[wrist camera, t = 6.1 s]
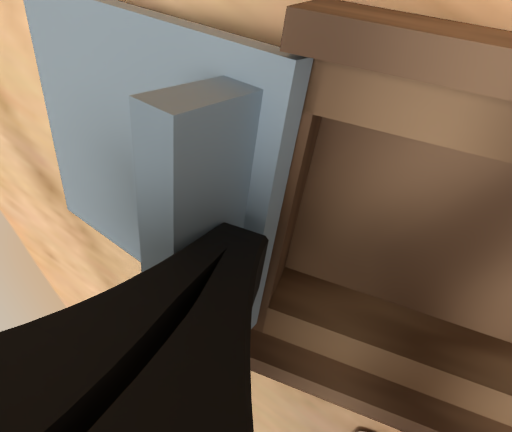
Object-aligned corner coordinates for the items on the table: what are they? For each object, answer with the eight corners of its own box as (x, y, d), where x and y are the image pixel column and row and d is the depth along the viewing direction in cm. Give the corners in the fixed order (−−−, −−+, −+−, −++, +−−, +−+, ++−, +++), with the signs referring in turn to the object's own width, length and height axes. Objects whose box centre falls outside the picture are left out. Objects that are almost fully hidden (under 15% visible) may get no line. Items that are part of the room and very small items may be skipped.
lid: (313, 56, 8) (205, 79, 6) (256, 323, 14) (189, 395, 11) (42, -22, 13) (-86, -28, 10) (82, 203, 18) (7, 235, 16)
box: (981, 116, 7) (1445, 225, 4) (590, 403, 14) (646, 529, 11) (324, -3, 10) (287, 6, 7) (263, 288, 17) (230, 362, 14)
